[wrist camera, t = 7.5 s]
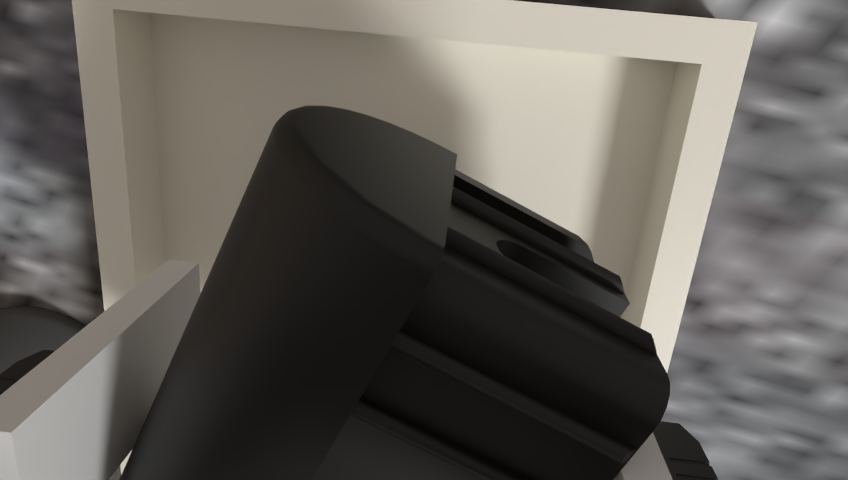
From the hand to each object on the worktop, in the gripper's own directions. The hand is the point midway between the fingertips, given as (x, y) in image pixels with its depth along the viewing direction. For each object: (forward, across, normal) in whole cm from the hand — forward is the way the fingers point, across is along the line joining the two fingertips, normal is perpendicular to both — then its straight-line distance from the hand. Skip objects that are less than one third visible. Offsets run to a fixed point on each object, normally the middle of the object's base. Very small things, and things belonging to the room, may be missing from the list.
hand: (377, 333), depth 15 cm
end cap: (+1, 0, 0) cm, 1 cm away
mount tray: (+4, 0, 0) cm, 4 cm away
